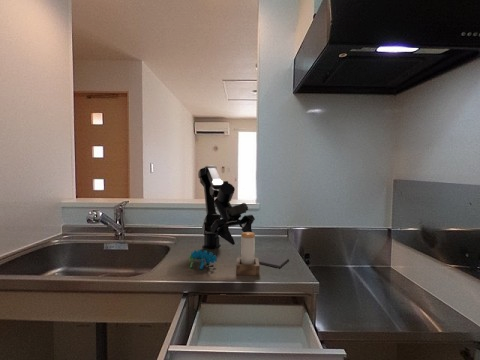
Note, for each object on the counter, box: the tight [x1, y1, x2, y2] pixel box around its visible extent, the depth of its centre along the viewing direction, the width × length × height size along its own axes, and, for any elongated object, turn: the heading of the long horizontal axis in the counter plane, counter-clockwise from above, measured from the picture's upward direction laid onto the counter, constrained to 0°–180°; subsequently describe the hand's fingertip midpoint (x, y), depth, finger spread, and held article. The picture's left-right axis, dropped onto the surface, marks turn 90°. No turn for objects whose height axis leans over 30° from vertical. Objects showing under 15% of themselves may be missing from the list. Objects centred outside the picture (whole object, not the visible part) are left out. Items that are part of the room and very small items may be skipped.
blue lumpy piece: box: [188, 249, 217, 270], centre depth 106 cm, size 11×6×10 cm
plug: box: [240, 231, 256, 265], centre depth 102 cm, size 5×5×14 cm
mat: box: [258, 253, 290, 269], centre depth 113 cm, size 10×10×1 cm
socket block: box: [235, 257, 260, 276], centre depth 103 cm, size 8×8×4 cm
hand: (243, 242), depth 104 cm, fingers open, 9 cm apart
